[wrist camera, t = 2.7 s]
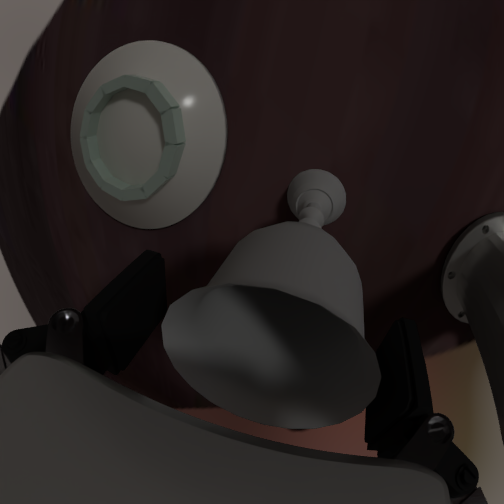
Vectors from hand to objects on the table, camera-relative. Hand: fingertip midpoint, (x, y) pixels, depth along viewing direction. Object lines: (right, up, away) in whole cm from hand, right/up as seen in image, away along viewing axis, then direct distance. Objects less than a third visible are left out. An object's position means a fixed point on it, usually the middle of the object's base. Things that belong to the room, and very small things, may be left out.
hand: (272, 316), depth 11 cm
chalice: (+5, +7, +13) cm, 15 cm away
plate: (-12, +14, +14) cm, 24 cm away
